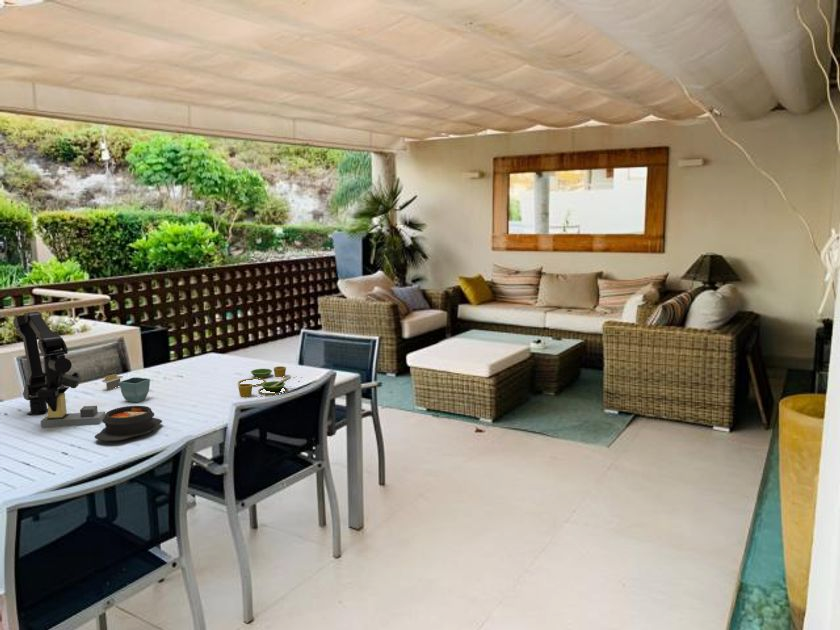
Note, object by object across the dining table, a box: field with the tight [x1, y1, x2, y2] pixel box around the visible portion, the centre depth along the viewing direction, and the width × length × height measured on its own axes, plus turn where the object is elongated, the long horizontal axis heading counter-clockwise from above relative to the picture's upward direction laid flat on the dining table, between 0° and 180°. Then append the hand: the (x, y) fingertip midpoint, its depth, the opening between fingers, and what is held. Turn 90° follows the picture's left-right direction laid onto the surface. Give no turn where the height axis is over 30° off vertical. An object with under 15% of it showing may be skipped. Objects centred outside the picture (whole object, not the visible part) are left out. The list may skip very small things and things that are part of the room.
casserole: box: [94, 405, 163, 442], centre depth 223 cm, size 25×19×8 cm
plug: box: [47, 392, 68, 418], centre depth 234 cm, size 5×5×10 cm
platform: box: [101, 373, 124, 392], centre depth 282 cm, size 12×18×7 cm, turn 162°
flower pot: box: [119, 376, 151, 403], centre depth 263 cm, size 9×9×9 cm
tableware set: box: [237, 365, 292, 398], centre depth 288 cm, size 41×28×6 cm
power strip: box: [40, 405, 106, 428], centre depth 235 cm, size 8×20×6 cm, turn 101°
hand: (57, 409), depth 234 cm, fingers closed on plug, 5 cm apart
